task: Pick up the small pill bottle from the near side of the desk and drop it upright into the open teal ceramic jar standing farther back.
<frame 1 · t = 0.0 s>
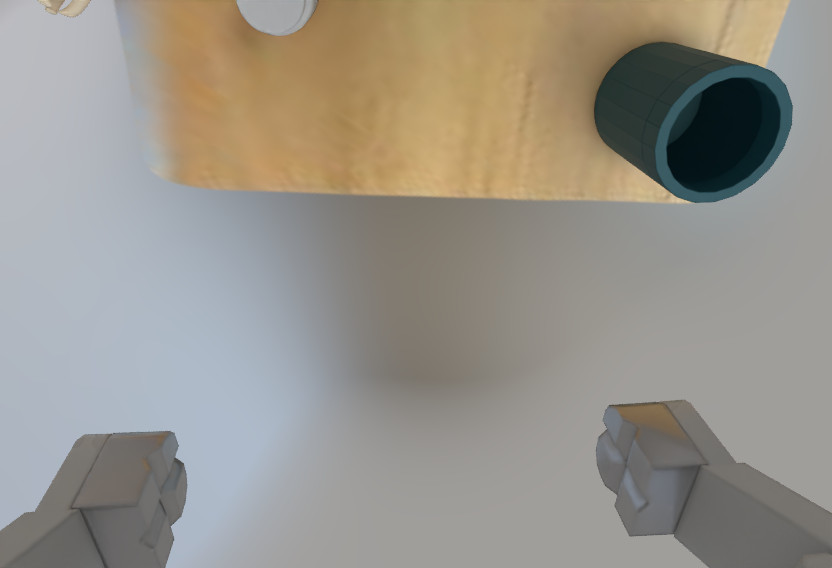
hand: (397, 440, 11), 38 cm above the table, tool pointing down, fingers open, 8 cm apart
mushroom: (56, 16, 33), point 7 cm above the table
jar: (648, 101, 46), on the table
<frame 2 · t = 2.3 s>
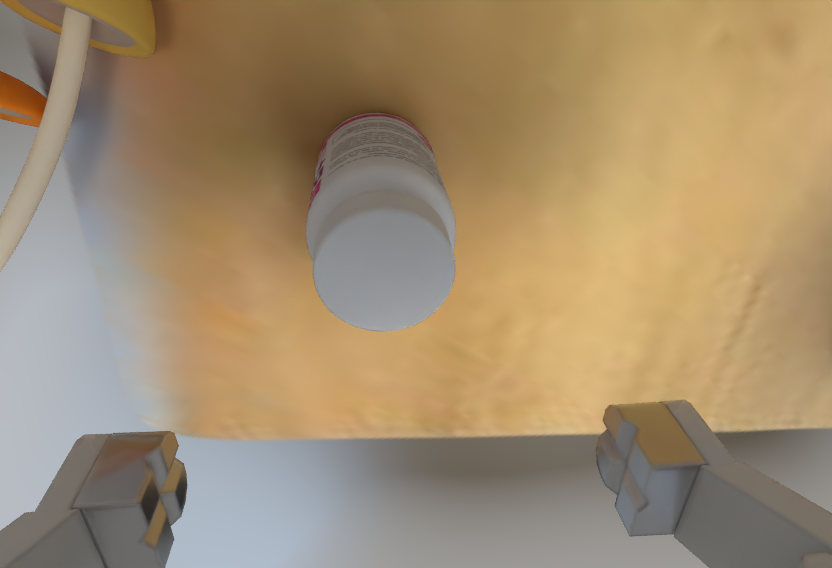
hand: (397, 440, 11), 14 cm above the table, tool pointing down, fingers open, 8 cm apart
pill bottle: (375, 168, 23), on the table
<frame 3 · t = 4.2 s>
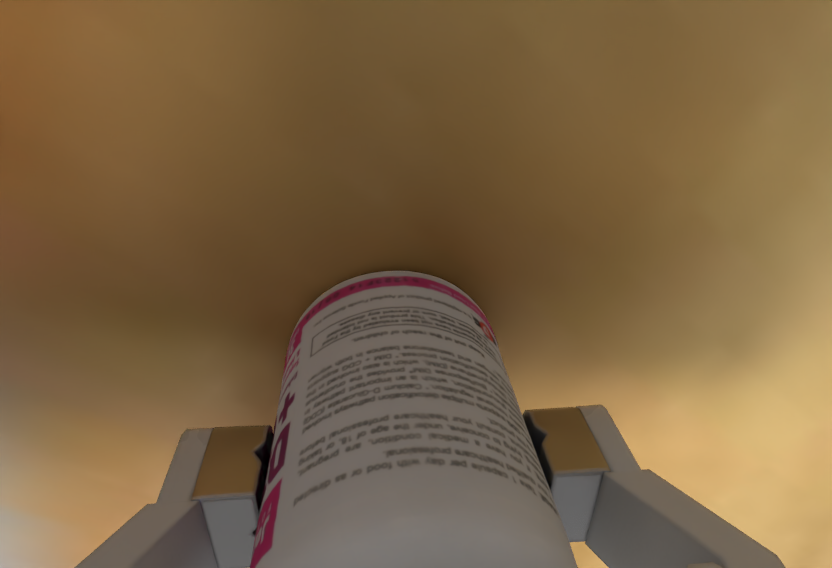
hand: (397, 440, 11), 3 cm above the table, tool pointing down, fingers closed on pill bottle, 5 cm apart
pill bottle: (390, 348, 13), on the table, touching gripper
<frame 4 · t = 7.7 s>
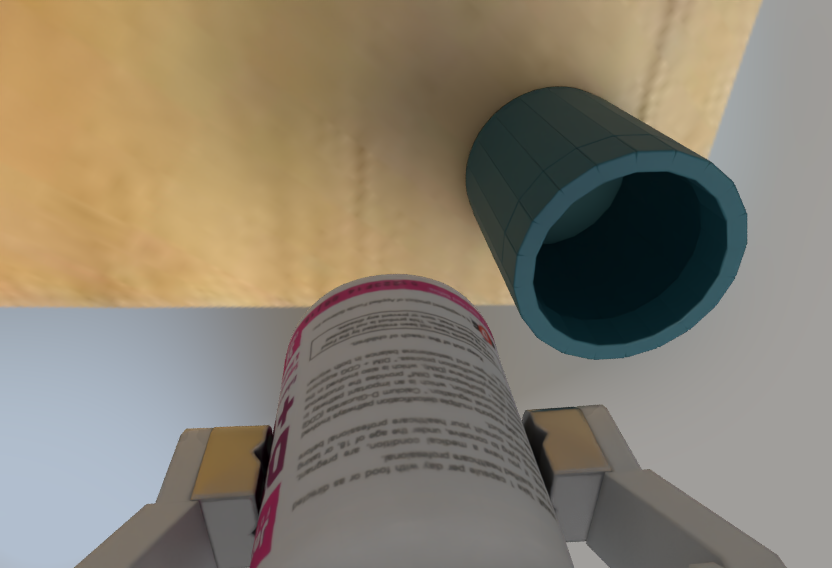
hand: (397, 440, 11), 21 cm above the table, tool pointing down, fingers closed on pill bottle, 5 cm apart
pill bottle: (390, 351, 13), point 19 cm above the table, touching gripper
jar: (546, 171, 31), on the table
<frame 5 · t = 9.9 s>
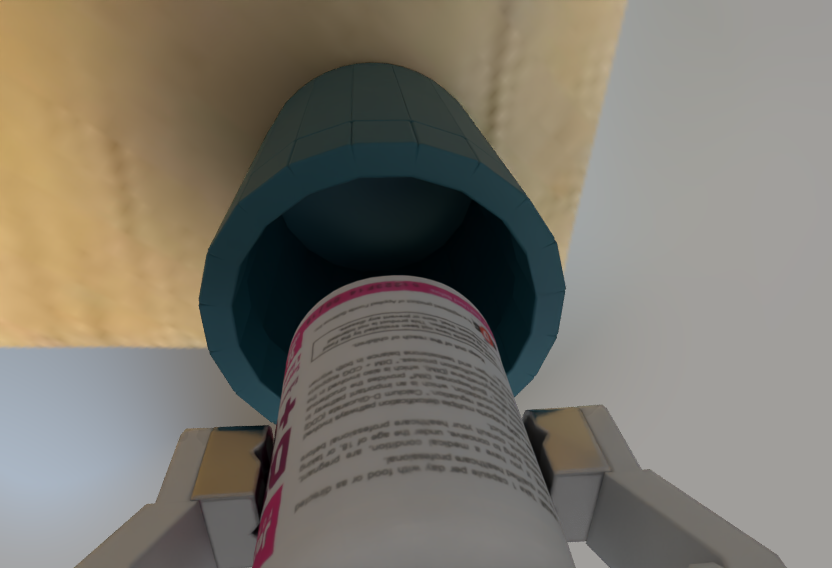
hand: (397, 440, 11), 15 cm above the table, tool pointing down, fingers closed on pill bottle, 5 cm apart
pill bottle: (391, 352, 13), point 12 cm above the table, touching gripper
jar: (374, 177, 24), on the table
when the fingers open (11 cm above the table, at t = 11.4 s): pill bottle drops 7 cm, resting on jar.
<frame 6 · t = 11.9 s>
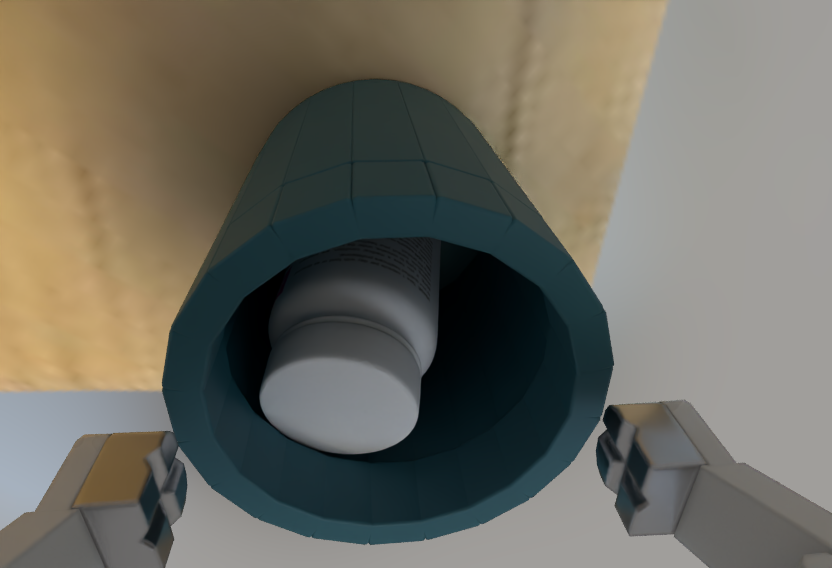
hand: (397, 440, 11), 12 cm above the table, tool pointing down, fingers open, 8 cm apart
pill bottle: (376, 216, 20), point 1 cm above the table, touching jar
jar: (377, 206, 21), on the table
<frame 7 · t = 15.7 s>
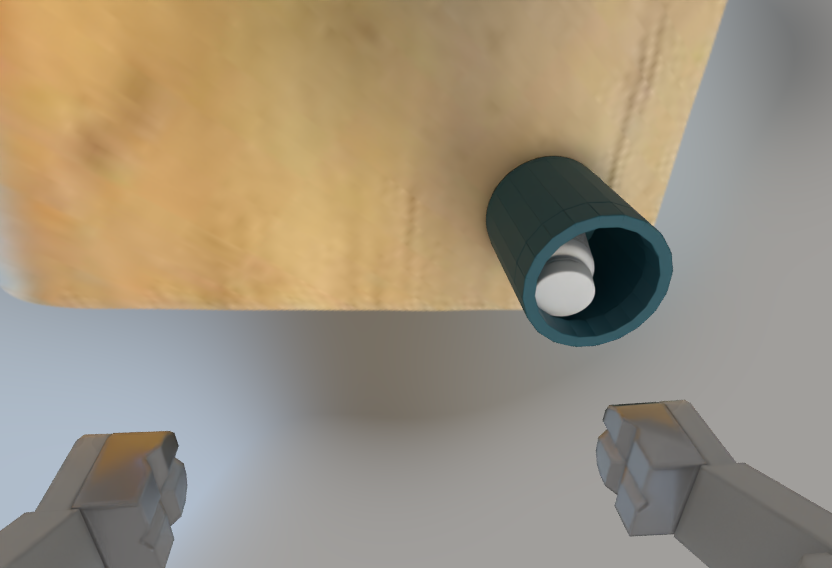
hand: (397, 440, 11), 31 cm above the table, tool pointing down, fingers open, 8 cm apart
pill bottle: (546, 219, 42), point 1 cm above the table, touching jar
jar: (544, 214, 43), on the table
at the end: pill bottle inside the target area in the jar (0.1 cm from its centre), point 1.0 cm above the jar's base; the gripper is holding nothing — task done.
